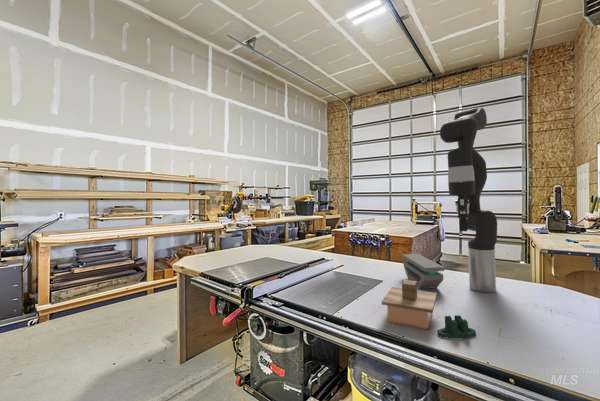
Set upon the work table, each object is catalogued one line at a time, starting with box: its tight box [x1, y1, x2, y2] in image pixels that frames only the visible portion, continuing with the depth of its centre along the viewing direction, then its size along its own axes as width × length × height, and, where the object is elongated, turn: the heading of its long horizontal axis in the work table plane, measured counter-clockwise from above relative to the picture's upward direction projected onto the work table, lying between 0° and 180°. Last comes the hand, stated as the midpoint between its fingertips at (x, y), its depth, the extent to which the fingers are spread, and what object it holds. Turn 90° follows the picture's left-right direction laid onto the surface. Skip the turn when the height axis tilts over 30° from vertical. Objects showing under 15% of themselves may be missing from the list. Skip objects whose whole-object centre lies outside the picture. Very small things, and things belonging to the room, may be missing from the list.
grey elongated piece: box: [401, 253, 445, 289], centre depth 122 cm, size 25×8×11 cm, turn 179°
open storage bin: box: [386, 305, 433, 330], centre depth 90 cm, size 12×12×6 cm
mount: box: [436, 314, 477, 339], centre depth 79 cm, size 11×4×5 cm, turn 91°
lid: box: [381, 279, 438, 314], centre depth 90 cm, size 15×15×6 cm
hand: (463, 229), depth 89 cm, fingers open, 8 cm apart
